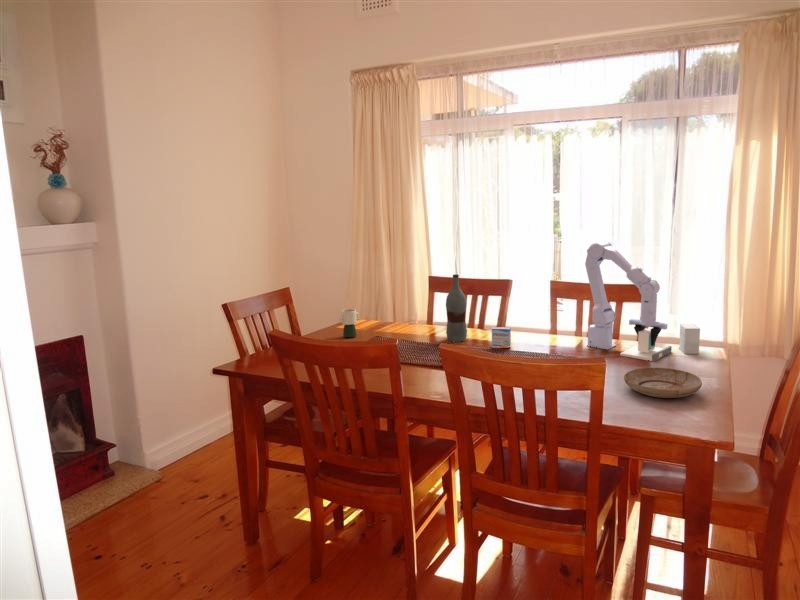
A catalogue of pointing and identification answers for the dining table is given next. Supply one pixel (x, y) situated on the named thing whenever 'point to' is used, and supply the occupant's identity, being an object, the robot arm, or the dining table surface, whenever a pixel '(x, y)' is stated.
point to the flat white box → (649, 356)
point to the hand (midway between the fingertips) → (647, 344)
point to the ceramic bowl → (663, 382)
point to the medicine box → (501, 336)
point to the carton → (645, 341)
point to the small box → (689, 338)
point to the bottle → (456, 313)
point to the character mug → (349, 321)
